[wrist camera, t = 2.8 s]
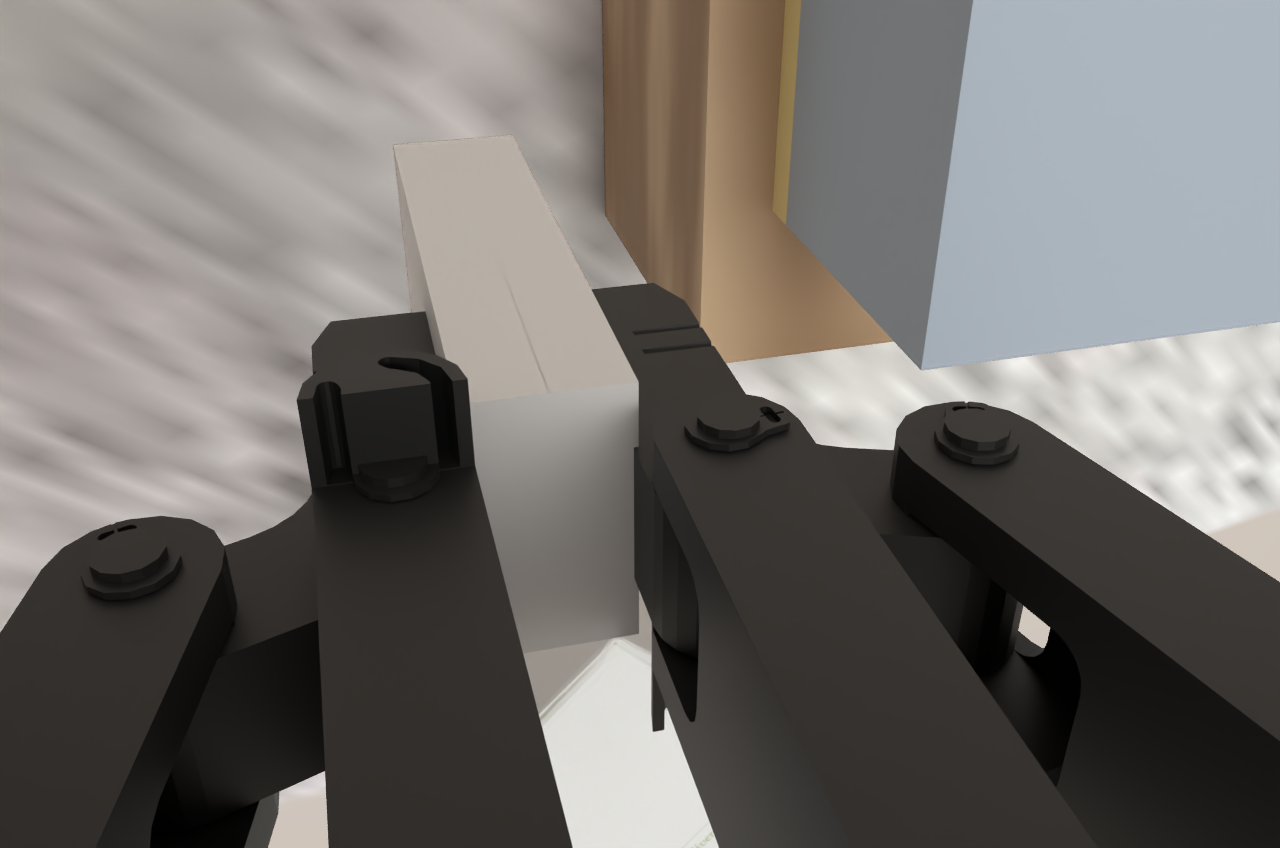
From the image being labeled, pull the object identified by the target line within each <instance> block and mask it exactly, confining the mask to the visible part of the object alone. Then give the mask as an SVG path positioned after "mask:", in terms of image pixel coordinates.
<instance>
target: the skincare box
mask: <svg viewBox="0 0 1280 848" xmlns="http://www.w3.org/2000/svg"><path fill="white" fill-rule="evenodd" d="M523 655H524V659H525V663H526V666H527V670H528V674H529V678H530V682H531V686H532V690H533V694H534V698H535V702H536V706H537V709H538V713H539V717H540V721H541V725H542V729H543V733H544V737H545V741H546V745H547V749H548V753H549V756H550V760H551V764H552V768H553V772H554V776H555V780H556V784H557V788H558V792H559V796H560V799H561V803H562V807H563V811H564V815H565V819H566V823H567V827H568V831H569V835H570V839H571V843H572V846H573V848H719V846H718V844H717V841H716V838H715V835H714V833H713V830H712V827H711V825H710V822H709V819H708V817H707V814H706V811H705V809H704V806H703V803H702V801H701V798H700V795H699V793H698V790H697V787H696V785H695V782H694V779H693V777H692V774H691V771H690V768H689V766H688V763H687V760H686V758H685V755H684V752H683V750H682V747H681V744H680V742H679V739H678V736H677V734H676V731H675V728H674V726H673V723H672V720H671V718H670V715H669V712H668V710H667V708H666V709H665V716H664V730H662V731H656V732H653V730H652V717H651V657H652V621H651V619H650V616H649V614H648V611H647V609H646V606H645V604H644V601H643V599H642V596H641V594H640V591H639V634H635V635H629V636H623V637H618V638H612V639H606V640H600V641H594V642H588V643H582V644H577V645H571V646H565V647H559V648H553V649H547V650H541V651H535V652H530V653H524V654H523Z"/></svg>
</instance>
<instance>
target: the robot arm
mask: <svg viewBox="0 0 1280 848" xmlns="http://www.w3.org/2000/svg"><path fill="white" fill-rule="evenodd" d="M393 149H394V158H395V167H396V176H397V185H398V194H399V203H400V212H401V222H402V231H403V240H404V249H405V258H406V267H407V276H408V285H409V294H410V303H411V312H412V313H405V314H396V315H387V316H378V317H368V318H359V319H350V320H341V321H332V322H330V323H329V324H328V326H327V327H326V328H325V330H324V331H323V332H322V334H321V335H320V336H319V337H318V339H317V340H316V341H315V343H314V344H313V345H312V363H313V375H312V376H311V377H310V378H309V379H308V380H306V381H305V382H304V383H303V384H302V387H301V390H300V392H299V395H298V398H297V405H298V410H299V416H300V422H301V428H302V434H303V439H304V445H305V451H306V457H307V463H308V469H309V474H310V480H311V486H312V495H311V496H310V498H309V499H308V501H307V502H306V503H305V504H304V505H303V506H302V507H301V508H300V509H299V510H298V511H297V512H296V513H295V514H293V515H292V516H291V517H289V518H287V519H286V520H284V521H283V522H281V523H279V524H278V525H276V526H275V527H273V528H270V529H268V530H266V531H263V532H261V533H259V534H256V535H254V536H252V537H249V538H246V539H243V540H240V541H238V542H235V543H232V544H229V545H226V546H224V545H223V544H222V542H221V541H220V539H219V538H218V536H217V534H216V533H215V531H214V530H212V529H210V528H208V527H206V526H204V525H202V524H200V523H198V522H196V521H194V520H191V519H183V518H174V517H166V516H157V517H148V518H139V519H130V520H125V521H121V522H117V523H115V524H113V525H111V524H110V525H108V526H105V527H102V528H100V529H97V530H94V531H91V532H90V533H88V534H86V535H84V536H83V537H81V538H79V539H78V540H76V541H74V542H72V543H71V544H69V545H67V546H65V547H64V548H62V549H61V550H60V551H59V552H58V553H57V554H56V555H55V556H54V557H53V558H52V559H51V560H50V562H49V563H48V564H47V565H46V566H45V567H44V568H43V569H42V570H41V571H40V573H39V575H38V576H37V578H36V579H35V581H34V582H33V584H32V585H31V587H30V588H29V590H28V591H27V593H26V594H25V596H24V598H23V599H22V601H21V602H20V604H19V605H18V607H17V608H16V610H15V611H14V613H13V614H12V616H11V617H10V619H9V621H8V622H7V624H6V625H5V627H4V628H3V630H2V631H1V633H0V848H268V845H269V842H270V838H271V835H272V831H273V828H274V825H275V822H276V819H277V815H278V806H279V791H281V790H284V789H286V788H288V787H290V786H292V785H295V784H297V783H299V782H301V781H303V780H306V779H308V778H310V777H312V776H315V775H317V774H319V773H321V772H323V771H325V778H326V799H327V820H328V840H329V848H573V846H572V843H571V839H570V835H569V831H568V827H567V823H566V819H565V815H564V811H563V807H562V803H561V799H560V796H559V792H558V788H557V784H556V780H555V776H554V772H553V768H552V764H551V760H550V756H549V753H548V749H547V745H546V741H545V737H544V733H543V729H542V725H541V721H540V717H539V713H538V709H537V706H536V702H535V698H534V694H533V690H532V686H531V682H530V678H529V674H528V670H527V666H526V663H525V659H524V655H523V654H524V653H530V652H535V651H541V650H547V649H553V648H559V647H565V646H571V645H577V644H582V643H588V642H594V641H600V640H606V639H612V638H618V637H623V636H629V635H635V634H639V591H640V594H641V596H642V599H643V601H644V604H645V606H646V609H647V611H648V614H649V616H650V619H651V621H652V657H651V717H652V730H653V732H656V731H662V730H664V716H665V709H666V708H667V710H668V712H669V715H670V718H671V720H672V723H673V726H674V728H675V731H676V734H677V736H678V739H679V742H680V744H681V747H682V750H683V752H684V755H685V758H686V760H687V763H688V766H689V768H690V771H691V774H692V777H693V779H694V782H695V785H696V787H697V790H698V793H699V795H700V798H701V801H702V803H703V806H704V809H705V811H706V814H707V817H708V819H709V822H710V825H711V827H712V830H713V833H714V835H715V838H716V841H717V844H718V846H719V848H1280V582H1279V581H1277V580H1276V579H1274V578H1273V577H1271V576H1269V575H1268V574H1266V573H1265V572H1263V571H1262V570H1260V569H1259V568H1257V567H1256V566H1254V565H1252V564H1251V563H1249V562H1248V561H1246V560H1245V559H1243V558H1242V557H1240V556H1239V555H1237V554H1236V553H1234V552H1232V551H1231V550H1229V549H1228V548H1226V547H1225V546H1223V545H1222V544H1220V543H1219V542H1217V541H1216V540H1214V539H1212V538H1211V537H1209V536H1208V535H1206V534H1205V533H1203V532H1202V531H1200V530H1199V529H1197V528H1195V527H1194V526H1192V525H1191V524H1189V523H1188V522H1186V521H1185V520H1183V519H1182V518H1180V517H1179V516H1177V515H1175V514H1174V513H1172V512H1171V511H1169V510H1168V509H1166V508H1165V507H1163V506H1162V505H1160V504H1159V503H1157V502H1155V501H1154V500H1152V499H1151V498H1149V497H1148V496H1146V495H1145V494H1143V493H1142V492H1140V491H1138V490H1137V489H1135V488H1134V487H1132V486H1131V485H1129V484H1128V483H1126V482H1125V481H1123V480H1122V479H1120V478H1118V477H1117V476H1115V475H1114V474H1112V473H1111V472H1109V471H1108V470H1106V469H1105V468H1103V467H1102V466H1100V465H1098V464H1097V463H1095V462H1094V461H1092V460H1091V459H1089V458H1088V457H1086V456H1085V455H1083V454H1081V453H1080V452H1078V451H1077V450H1075V449H1074V448H1072V447H1071V446H1069V445H1068V444H1066V443H1065V442H1063V441H1061V440H1060V439H1058V438H1057V437H1055V436H1054V435H1052V434H1051V433H1049V432H1048V431H1046V430H1044V429H1043V428H1041V427H1040V426H1038V425H1037V424H1035V423H1034V422H1032V421H1030V420H1027V419H1025V418H1023V417H1021V416H1019V415H1017V414H1015V413H1013V412H1011V411H1008V410H1004V409H1000V408H996V407H992V406H988V405H986V404H984V403H977V402H968V403H965V402H949V403H943V404H937V405H931V406H925V407H923V408H921V409H919V410H917V411H915V412H913V413H911V414H909V415H907V416H906V417H905V418H904V419H903V421H902V422H901V424H900V425H899V427H898V428H897V431H896V438H895V446H894V450H877V449H858V448H842V447H834V446H825V445H820V444H816V443H815V441H814V440H813V438H812V437H811V436H810V434H809V433H808V431H807V430H806V428H805V427H804V426H803V424H802V423H801V421H800V420H799V419H798V418H797V417H796V416H794V415H793V414H792V413H791V412H790V411H789V410H788V409H787V408H785V407H784V406H781V405H779V404H777V403H774V402H772V401H770V400H767V399H765V398H762V397H758V396H752V395H746V394H745V392H744V391H743V389H742V388H741V386H740V385H739V383H738V381H737V380H736V378H735V377H734V375H733V374H732V372H731V371H730V369H729V368H728V366H727V365H726V363H725V362H724V360H723V358H722V357H721V355H720V354H719V352H718V351H717V349H716V348H715V346H712V345H711V340H710V339H709V337H708V336H707V334H706V332H705V331H704V329H703V328H702V327H700V326H699V322H698V320H697V319H696V317H695V316H694V314H693V313H692V311H691V309H690V308H689V306H688V305H687V303H686V302H685V300H683V299H681V298H679V297H678V296H676V295H674V294H672V293H671V292H669V291H667V290H665V289H664V288H662V287H660V286H658V285H657V284H655V283H648V284H639V285H630V286H621V287H611V288H602V289H593V290H591V288H590V286H589V284H588V282H587V280H586V278H585V276H584V274H583V272H582V270H581V268H580V266H579V265H578V263H577V261H576V259H575V257H574V255H573V253H572V251H571V249H570V247H569V245H568V243H567V241H566V239H565V237H564V235H563V233H562V231H561V229H560V227H559V225H558V223H557V222H556V220H555V218H554V216H553V214H552V212H551V210H550V208H549V206H548V204H547V202H546V200H545V198H544V196H543V194H542V192H541V190H540V188H539V186H538V184H537V182H536V181H535V179H534V177H533V175H532V173H531V171H530V169H529V167H528V165H527V163H526V161H525V159H524V157H523V155H522V153H521V151H520V149H519V147H518V145H517V143H516V141H515V139H514V138H513V136H512V135H506V136H494V137H482V138H469V139H457V140H444V141H432V142H420V143H407V144H395V145H393ZM1023 606H1025V607H1026V608H1027V609H1028V610H1030V611H1031V612H1032V613H1033V614H1035V615H1036V616H1037V617H1038V618H1039V619H1041V620H1042V621H1043V622H1044V623H1046V624H1047V625H1048V626H1049V627H1050V632H1049V636H1048V641H1047V644H1046V646H1045V648H1041V647H1039V646H1038V645H1036V644H1034V643H1033V642H1031V641H1030V640H1029V639H1027V638H1026V637H1025V636H1024V635H1023V634H1021V633H1020V632H1019V631H1018V628H1019V623H1020V619H1021V614H1022V609H1023Z"/></svg>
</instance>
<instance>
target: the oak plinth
mask: <svg viewBox="0 0 1280 848" xmlns="http://www.w3.org/2000/svg"><path fill="white" fill-rule="evenodd" d="M784 15H785V0H602V21H603V86H604V151H605V216H606V217H607V219H608V220H609V222H610V224H611V225H612V227H613V228H614V230H615V232H616V233H617V235H618V236H619V238H620V240H621V241H622V243H623V245H624V246H625V248H626V249H627V251H628V253H629V254H630V256H631V257H632V259H633V261H634V262H635V264H636V265H637V267H638V269H639V270H640V272H641V274H642V275H643V277H644V278H645V280H646V282H647V283H655V284H657V285H658V286H660V287H662V288H664V289H665V290H667V291H669V292H671V293H672V294H674V295H676V296H678V297H679V298H681V299H683V300H685V302H686V303H687V305H688V306H689V308H690V309H691V311H692V313H693V314H694V316H695V317H696V319H697V320H698V322H699V326H700V327H702V328H703V329H704V331H705V332H706V334H707V336H708V337H709V339H710V340H711V345H712V346H715V348H716V349H717V351H718V352H719V354H720V355H721V357H722V358H723V360H724V362H725V363H730V362H738V361H746V360H753V359H761V358H769V357H777V356H785V355H792V354H800V353H808V352H816V351H823V350H831V349H839V348H847V347H854V346H862V345H870V344H878V343H885V342H893V340H892V339H891V338H890V336H889V335H888V334H887V333H886V332H885V331H884V330H883V329H882V328H881V327H880V326H879V325H878V324H877V323H876V321H875V320H874V319H873V318H872V317H871V316H870V315H869V314H868V313H867V312H866V311H865V310H864V309H863V307H862V306H861V305H860V304H859V303H858V302H857V301H856V300H855V299H854V298H853V297H852V296H851V295H850V294H849V292H848V291H847V290H846V289H845V288H844V287H843V286H842V285H841V284H840V283H839V282H838V281H837V280H836V279H835V277H834V276H833V275H832V274H831V273H830V272H829V271H828V270H827V269H826V268H825V267H824V266H823V265H822V264H821V262H820V261H819V260H818V259H817V258H816V257H815V256H814V255H813V254H812V253H811V252H810V251H809V250H808V249H807V247H806V246H805V245H804V244H803V243H802V242H801V241H800V240H799V239H798V238H797V237H796V236H795V235H794V233H793V232H792V231H791V230H790V229H789V228H788V227H787V226H786V225H785V224H784V223H783V222H782V221H781V220H780V218H779V217H778V216H777V215H776V214H775V213H774V212H773V211H772V210H773V194H774V178H775V161H776V145H777V129H778V113H779V97H780V80H781V64H782V48H783V32H784Z"/></svg>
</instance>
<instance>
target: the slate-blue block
mask: <svg viewBox="0 0 1280 848" xmlns="http://www.w3.org/2000/svg"><path fill="white" fill-rule="evenodd" d="M772 211H773V212H774V213H775V214H776V215H777V216H778V217H779V218H780V220H781V221H782V222H783V223H784V224H785V225H786V226H787V227H788V228H789V229H790V230H791V231H792V232H793V233H794V235H795V236H796V237H797V238H798V239H799V240H800V241H801V242H802V243H803V244H804V245H805V246H806V247H807V249H808V250H809V251H810V252H811V253H812V254H813V255H814V256H815V257H816V258H817V259H818V260H819V261H820V262H821V264H822V265H823V266H824V267H825V268H826V269H827V270H828V271H829V272H830V273H831V274H832V275H833V276H834V277H835V279H836V280H837V281H838V282H839V283H840V284H841V285H842V286H843V287H844V288H845V289H846V290H847V291H848V292H849V294H850V295H851V296H852V297H853V298H854V299H855V300H856V301H857V302H858V303H859V304H860V305H861V306H862V307H863V309H864V310H865V311H866V312H867V313H868V314H869V315H870V316H871V317H872V318H873V319H874V320H875V321H876V323H877V324H878V325H879V326H880V327H881V328H882V329H883V330H884V331H885V332H886V333H887V334H888V335H889V336H890V338H891V339H892V340H893V341H894V342H895V343H896V344H897V345H898V346H899V347H900V348H901V349H902V350H903V351H904V353H905V354H906V355H907V356H908V357H909V358H910V359H911V360H912V361H913V362H914V363H915V364H916V365H917V366H918V368H919V369H920V370H928V369H935V368H943V367H950V366H958V365H965V364H972V363H980V362H987V361H995V360H1002V359H1009V358H1017V357H1024V356H1032V355H1039V354H1046V353H1054V352H1061V351H1069V350H1076V349H1083V348H1091V347H1098V346H1106V345H1113V344H1120V343H1128V342H1135V341H1143V340H1150V339H1157V338H1165V337H1172V336H1180V335H1187V334H1194V333H1202V332H1209V331H1217V330H1224V329H1231V328H1239V327H1246V326H1254V325H1261V324H1268V323H1276V322H1280V0H785V15H784V32H783V48H782V64H781V80H780V97H779V113H778V129H777V145H776V161H775V178H774V194H773V210H772Z"/></svg>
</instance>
